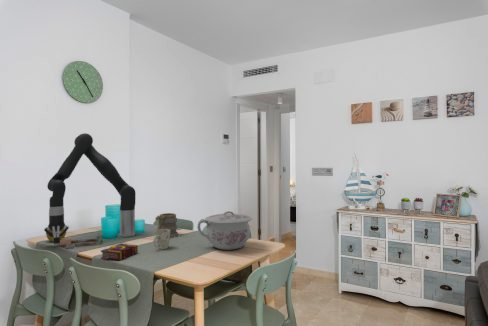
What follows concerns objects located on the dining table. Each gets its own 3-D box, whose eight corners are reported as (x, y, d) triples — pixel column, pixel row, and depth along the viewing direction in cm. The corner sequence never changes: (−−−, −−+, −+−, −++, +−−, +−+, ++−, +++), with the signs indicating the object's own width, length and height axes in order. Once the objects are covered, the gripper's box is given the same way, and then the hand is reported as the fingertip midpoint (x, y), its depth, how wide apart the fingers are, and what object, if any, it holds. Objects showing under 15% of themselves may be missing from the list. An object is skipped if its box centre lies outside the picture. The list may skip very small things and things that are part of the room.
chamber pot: (261, 245, 187) (261, 210, 187) (233, 257, 165) (233, 216, 164) (223, 238, 203) (223, 206, 203) (193, 248, 180) (193, 212, 180)
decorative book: (138, 253, 172) (138, 244, 172) (117, 262, 157) (117, 252, 157) (120, 251, 176) (120, 242, 176) (98, 260, 160) (98, 250, 160)
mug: (173, 246, 184) (173, 229, 184) (160, 252, 172) (160, 234, 172) (160, 245, 187) (160, 228, 187) (147, 251, 175) (147, 233, 175)
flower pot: (67, 239, 202) (67, 225, 202) (58, 242, 193) (58, 228, 193) (54, 239, 203) (54, 224, 203) (44, 242, 194) (44, 227, 194)
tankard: (165, 232, 221) (165, 211, 221) (181, 234, 217) (181, 212, 217) (146, 239, 203) (146, 215, 203) (163, 240, 198) (163, 216, 198)
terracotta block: (71, 244, 191) (71, 237, 191) (70, 246, 186) (70, 239, 186) (61, 244, 189) (61, 238, 189) (60, 247, 184) (60, 240, 184)
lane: (101, 240, 199) (101, 232, 199) (100, 244, 189) (100, 236, 189) (62, 243, 192) (62, 235, 191) (59, 247, 182) (59, 239, 182)
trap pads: (88, 240, 199) (88, 239, 199) (71, 249, 180) (71, 247, 180) (80, 240, 199) (80, 239, 199) (62, 249, 180) (62, 247, 180)
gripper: (70, 212, 192) (70, 241, 192) (45, 213, 187) (45, 243, 187) (68, 214, 185) (68, 244, 185) (41, 215, 180) (42, 246, 180)
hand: (56, 243), depth 186 cm, fingers closed
